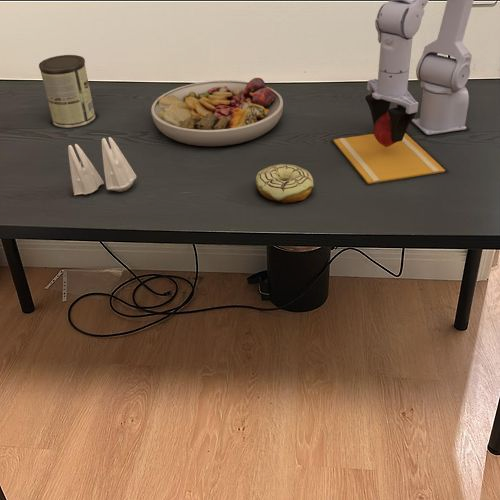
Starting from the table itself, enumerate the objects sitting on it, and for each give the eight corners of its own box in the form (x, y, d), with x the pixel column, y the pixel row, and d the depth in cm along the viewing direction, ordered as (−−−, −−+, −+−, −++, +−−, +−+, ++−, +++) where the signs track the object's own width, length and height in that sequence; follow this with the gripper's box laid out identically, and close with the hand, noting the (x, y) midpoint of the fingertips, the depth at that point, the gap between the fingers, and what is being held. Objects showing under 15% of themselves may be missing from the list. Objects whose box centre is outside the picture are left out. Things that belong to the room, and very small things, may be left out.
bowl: (207, 166, 130) (204, 130, 125) (129, 124, 149) (123, 92, 144) (310, 122, 145) (310, 89, 141) (227, 90, 164) (225, 60, 160)
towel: (401, 131, 140) (402, 129, 139) (445, 172, 124) (445, 169, 123) (333, 141, 137) (333, 139, 137) (367, 184, 121) (368, 182, 121)
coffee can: (50, 115, 156) (37, 58, 148) (92, 108, 158) (82, 52, 150) (53, 131, 148) (39, 72, 140) (98, 123, 150) (86, 65, 142)
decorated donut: (279, 212, 114) (278, 194, 112) (245, 189, 121) (244, 171, 119) (323, 193, 118) (324, 176, 116) (289, 172, 126) (288, 155, 124)
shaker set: (138, 184, 125) (130, 132, 118) (134, 194, 121) (125, 142, 115) (78, 185, 125) (67, 133, 119) (73, 196, 122) (60, 143, 116)
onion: (401, 153, 126) (405, 116, 122) (371, 152, 127) (374, 114, 123) (401, 141, 131) (405, 104, 126) (373, 139, 132) (375, 103, 127)
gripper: (355, 61, 124) (352, 125, 132) (397, 84, 113) (391, 153, 121) (386, 55, 126) (381, 119, 134) (430, 77, 115) (422, 145, 123)
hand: (388, 134), depth 128 cm, fingers closed on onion, 6 cm apart
